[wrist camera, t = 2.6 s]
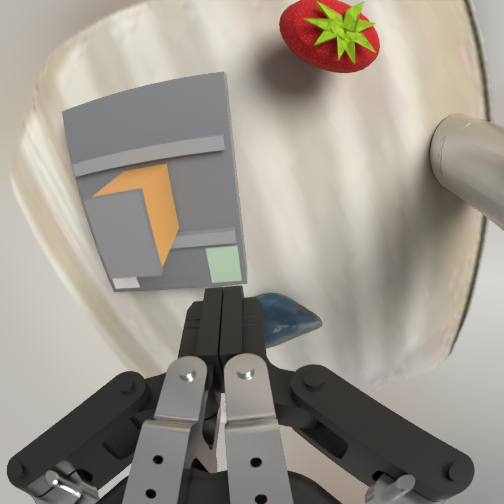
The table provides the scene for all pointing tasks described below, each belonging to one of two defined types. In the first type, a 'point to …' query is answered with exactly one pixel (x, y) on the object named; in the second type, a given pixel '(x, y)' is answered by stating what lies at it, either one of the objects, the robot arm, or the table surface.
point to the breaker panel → (170, 171)
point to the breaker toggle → (134, 222)
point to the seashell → (285, 319)
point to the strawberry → (330, 35)
